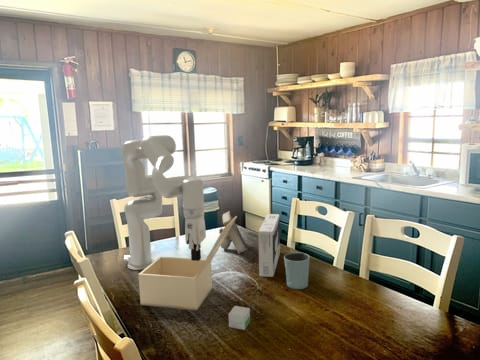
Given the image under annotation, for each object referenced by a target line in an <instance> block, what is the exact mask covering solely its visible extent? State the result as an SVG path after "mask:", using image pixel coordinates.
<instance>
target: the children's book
mask: <svg viewBox="0 0 480 360" xmlns="http://www.w3.org/2000/svg"><path fill="white" fill-rule="evenodd" d="M221 218H222V224H223V226H224V228H225V227H226V226H227V225H228V224H229V223H230V222H231V220H232V219H233V218H234V217H233V215H232V213H231V211H230V210H229V211H227V212H224V213H223V214H222V217H221ZM224 228H223V227H220V229H219V230H218V234H219V235H220V234H221V232H222V230H223V229H224ZM246 243H247V242H246V241H245V237H243V236H242V233H241V231H240V229H239V227H238V225H237V223H236V220H235V221H234V223H233V225H232V226H231V228H230V230H229V231H228V233H227V235H226V237H225V238H224V240H223V242H222V244H221V245H220V248H221V249H223V250H225V251H227V250H228V249H229V248H230V246H231V244H233V245H234V248H235V250H236V252H237V253H238V254H239V255H240V254H241V253H243V252H245V251H247V250H248V248H247V246H246V245H247V244H246Z"/></svg>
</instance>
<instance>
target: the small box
mask: <svg viewBox="0 0 480 360" xmlns="http://www.w3.org/2000/svg"><path fill="white" fill-rule="evenodd" d="M250 312H251V308H250V307H245V306H240V305H239V306H238V305H234V306H233V307H232V309H231V311H229V313H228V327H229V328H232V329H233V328H234V329H238V330H243V331H244V330H246V328H247V327H248V325H249V323H250V321H251V313H250Z"/></svg>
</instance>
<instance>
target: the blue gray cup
mask: <svg viewBox="0 0 480 360" xmlns="http://www.w3.org/2000/svg"><path fill="white" fill-rule="evenodd" d="M310 258H311V256H310V255H309V254H307V253H304V252H299V251H293V252H288V253H286V254H284V255H283V261H284V267H285V276H286V277H285V278H286V280H285V281H286V286H287V287H289V288H290V289H295V290H303V289H306V288H308V285H309V274H310V273H309V272H310V269H309V268H310V261H311V259H310Z"/></svg>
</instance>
